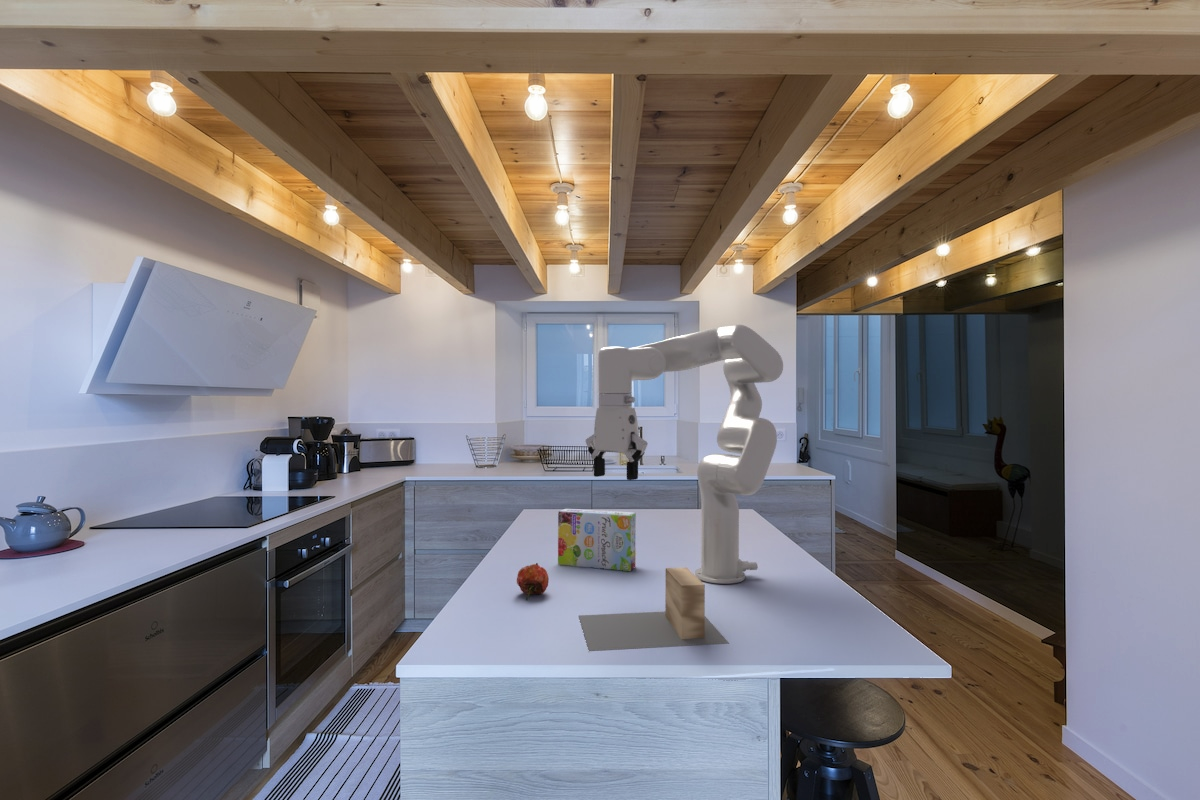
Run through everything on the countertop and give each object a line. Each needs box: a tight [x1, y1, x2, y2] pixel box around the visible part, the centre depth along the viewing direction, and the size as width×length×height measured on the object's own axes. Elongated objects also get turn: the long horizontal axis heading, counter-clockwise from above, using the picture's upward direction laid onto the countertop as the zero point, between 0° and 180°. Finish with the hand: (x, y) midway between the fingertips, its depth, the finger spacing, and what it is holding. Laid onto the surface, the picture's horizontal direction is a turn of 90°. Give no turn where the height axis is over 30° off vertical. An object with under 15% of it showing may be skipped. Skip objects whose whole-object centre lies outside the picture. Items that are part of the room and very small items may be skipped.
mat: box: [578, 611, 730, 652], centre depth 117 cm, size 26×18×1 cm
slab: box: [664, 566, 706, 639], centre depth 118 cm, size 4×12×10 cm, turn 8°
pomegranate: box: [516, 562, 549, 601], centre depth 138 cm, size 7×7×10 cm
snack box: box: [557, 508, 637, 572], centre depth 164 cm, size 21×6×15 cm, turn 71°
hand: (615, 477), depth 134 cm, fingers open, 9 cm apart
